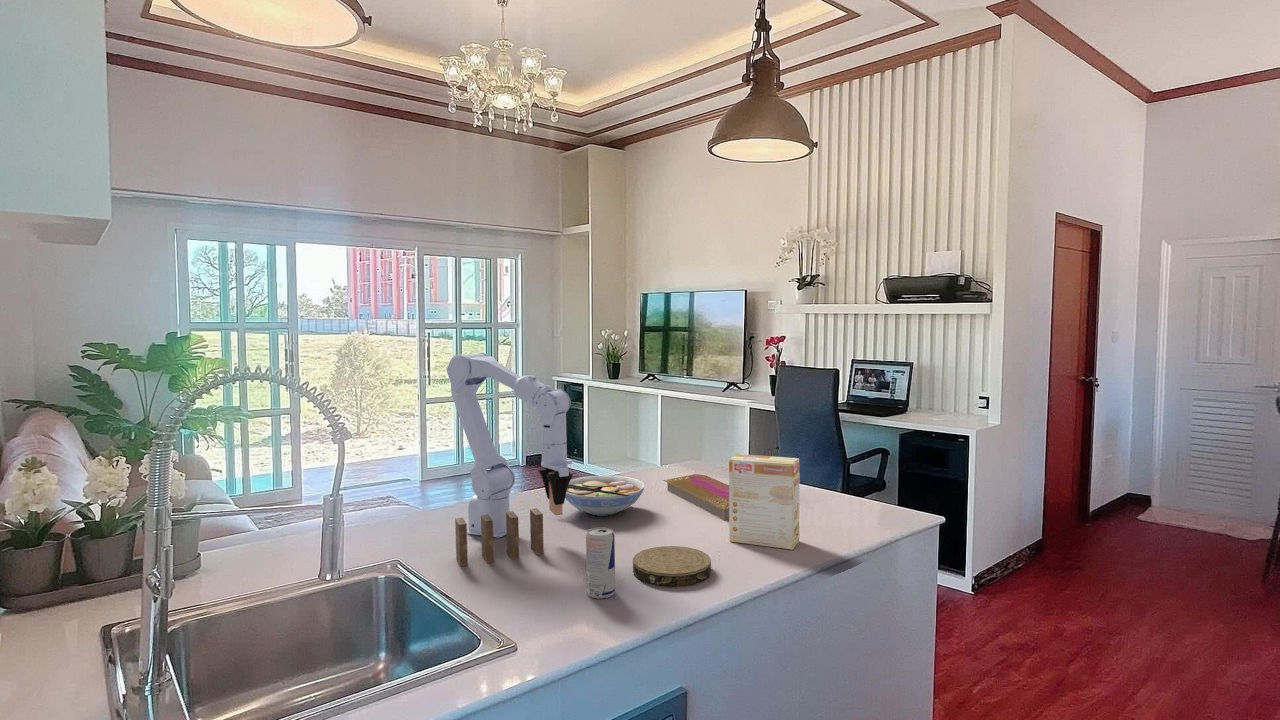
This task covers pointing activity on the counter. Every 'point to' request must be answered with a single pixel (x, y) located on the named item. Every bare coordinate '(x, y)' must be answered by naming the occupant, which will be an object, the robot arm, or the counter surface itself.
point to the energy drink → (600, 562)
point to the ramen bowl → (603, 493)
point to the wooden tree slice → (672, 566)
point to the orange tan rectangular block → (553, 508)
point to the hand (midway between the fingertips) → (555, 501)
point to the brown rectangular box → (702, 493)
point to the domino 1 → (461, 542)
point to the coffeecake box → (764, 500)
